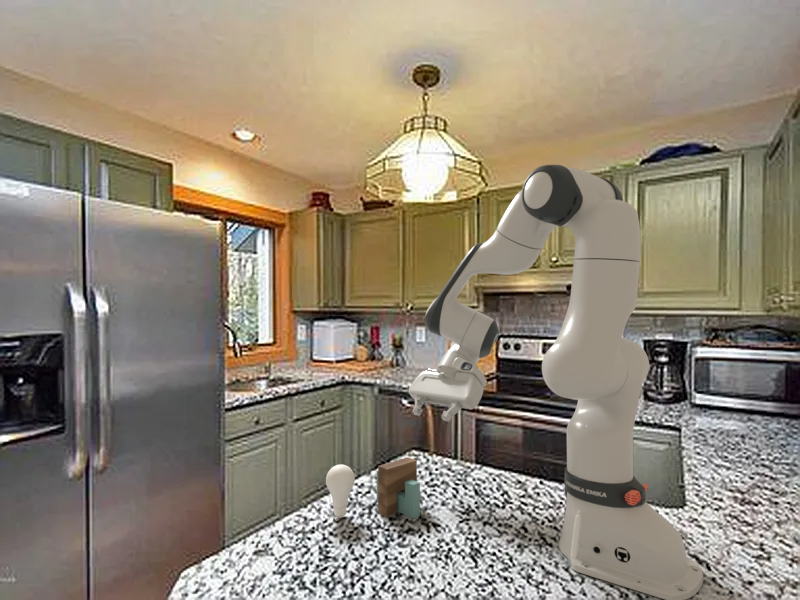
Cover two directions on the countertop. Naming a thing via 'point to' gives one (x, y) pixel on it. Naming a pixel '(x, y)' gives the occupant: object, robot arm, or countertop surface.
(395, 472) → the brown arch block
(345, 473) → the lightbulb
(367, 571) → the countertop surface
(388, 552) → the countertop surface
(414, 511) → the teal bracket
